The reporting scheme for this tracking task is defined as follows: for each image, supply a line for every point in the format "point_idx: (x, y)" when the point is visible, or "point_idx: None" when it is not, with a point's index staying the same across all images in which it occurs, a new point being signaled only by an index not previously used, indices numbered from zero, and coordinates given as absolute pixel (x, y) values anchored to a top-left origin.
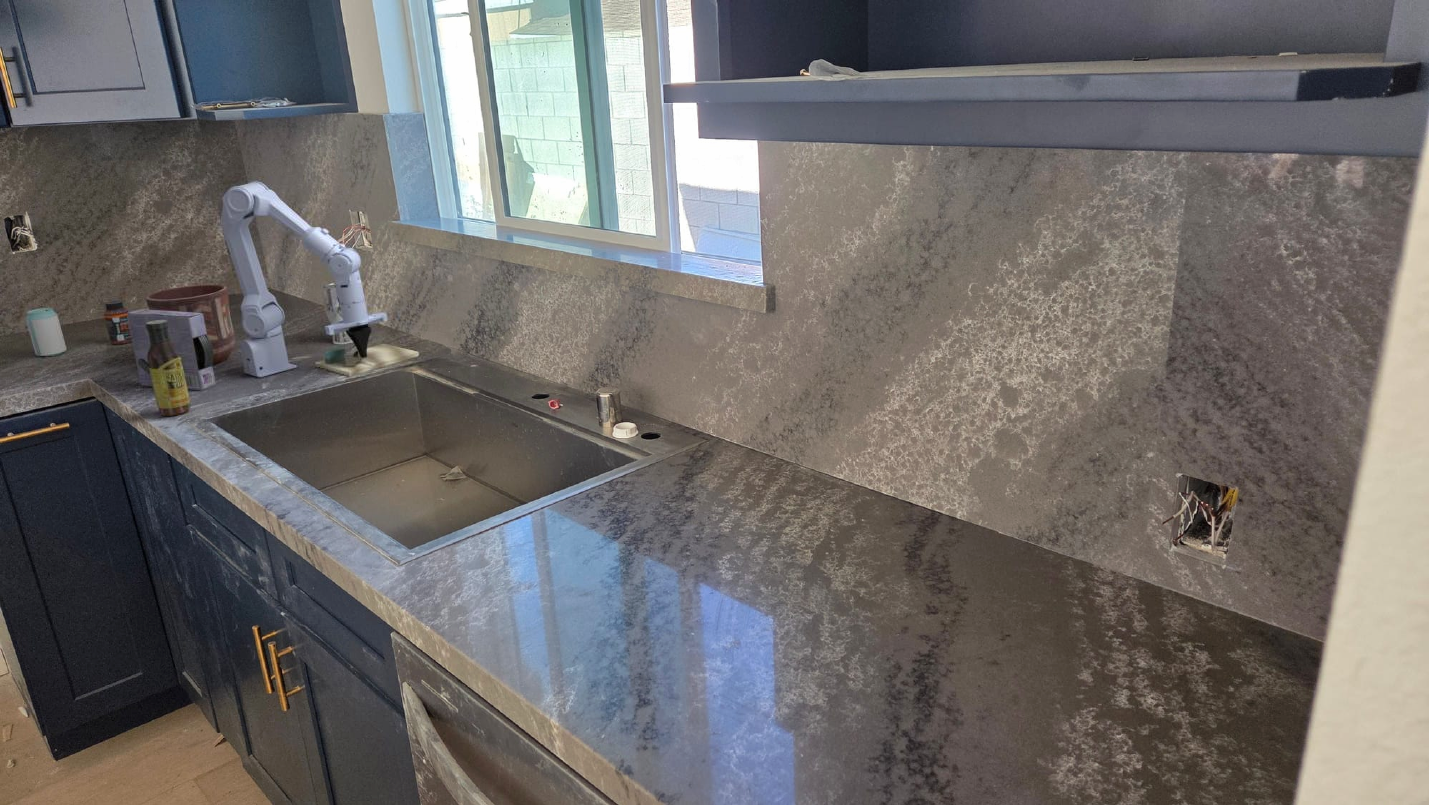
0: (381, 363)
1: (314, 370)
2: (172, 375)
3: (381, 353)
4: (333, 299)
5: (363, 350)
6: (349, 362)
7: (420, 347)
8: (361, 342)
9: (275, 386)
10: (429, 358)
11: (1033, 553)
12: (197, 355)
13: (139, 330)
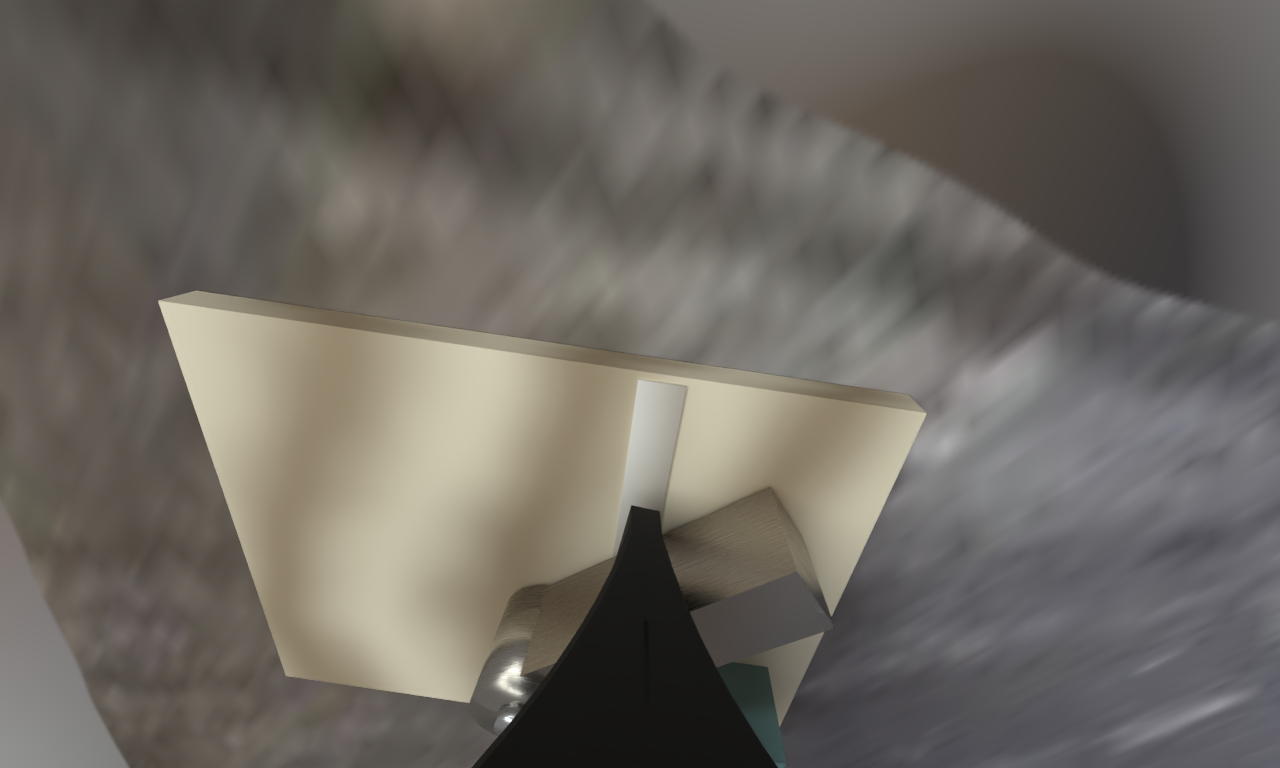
0: (580, 359)
1: (829, 685)
2: None
3: (413, 550)
4: None
5: (661, 561)
6: (795, 541)
7: (107, 460)
8: (681, 654)
9: (1197, 670)
10: (140, 104)
11: None
12: None
13: None
